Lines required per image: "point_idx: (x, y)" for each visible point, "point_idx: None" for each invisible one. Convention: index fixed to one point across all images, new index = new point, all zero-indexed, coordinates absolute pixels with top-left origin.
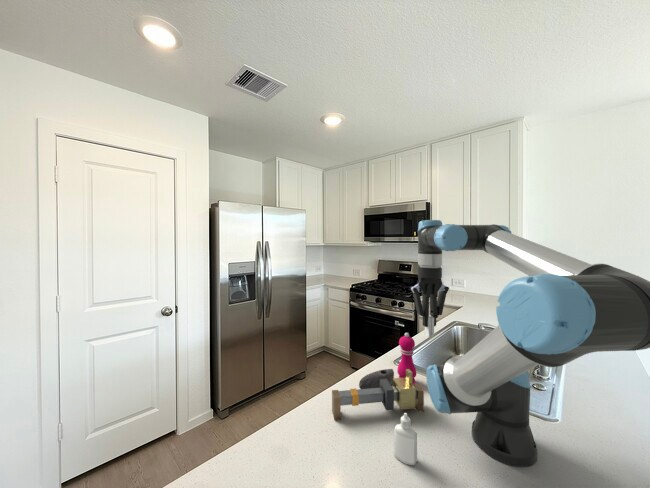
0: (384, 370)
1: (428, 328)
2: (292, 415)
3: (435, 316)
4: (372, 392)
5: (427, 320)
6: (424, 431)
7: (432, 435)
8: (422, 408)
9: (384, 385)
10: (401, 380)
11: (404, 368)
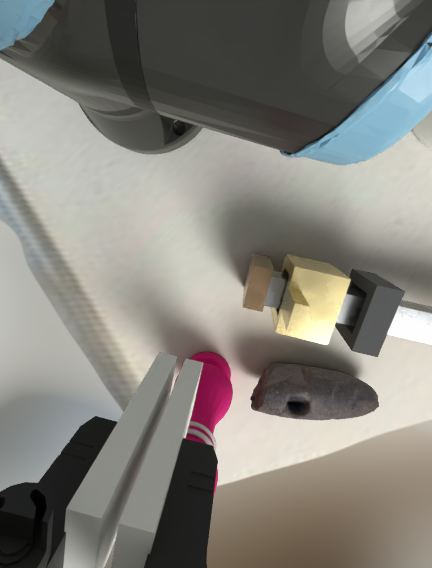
0: (288, 411)
1: (188, 416)
2: None
3: (35, 520)
4: (426, 319)
5: (170, 507)
6: (308, 187)
7: (299, 167)
8: (256, 255)
9: (388, 320)
10: (307, 323)
11: (219, 394)
